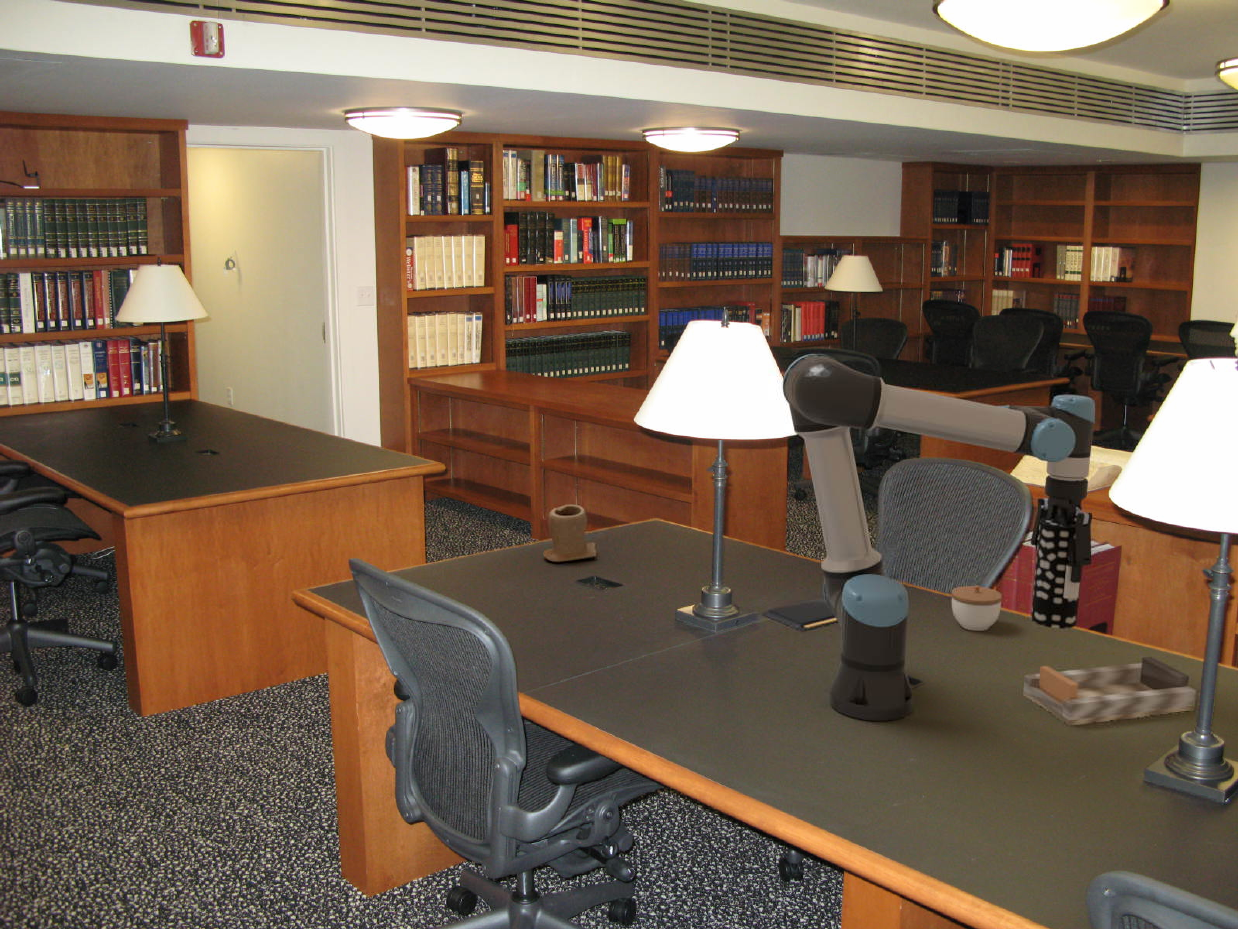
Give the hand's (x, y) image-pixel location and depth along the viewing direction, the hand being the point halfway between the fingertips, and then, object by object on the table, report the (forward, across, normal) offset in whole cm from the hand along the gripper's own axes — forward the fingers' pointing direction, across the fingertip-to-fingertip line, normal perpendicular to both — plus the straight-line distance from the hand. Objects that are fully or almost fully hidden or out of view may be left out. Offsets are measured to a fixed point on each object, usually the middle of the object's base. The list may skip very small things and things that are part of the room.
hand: (1056, 590), depth 216 cm
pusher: (+16, -14, +8) cm, 23 cm away
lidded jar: (+18, +30, -2) cm, 35 cm away
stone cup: (+20, +105, +75) cm, 131 cm away
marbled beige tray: (+18, -14, -3) cm, 23 cm away
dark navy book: (+19, +46, +30) cm, 58 cm away
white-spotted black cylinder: (+7, 0, 0) cm, 7 cm away
